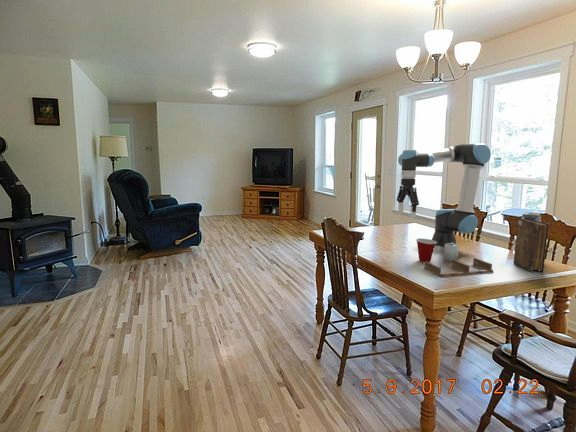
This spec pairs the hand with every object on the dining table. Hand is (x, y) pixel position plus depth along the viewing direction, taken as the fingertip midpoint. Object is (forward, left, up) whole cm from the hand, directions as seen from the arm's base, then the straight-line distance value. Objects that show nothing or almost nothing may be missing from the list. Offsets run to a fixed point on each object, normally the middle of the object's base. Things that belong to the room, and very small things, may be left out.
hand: (406, 215), depth 212 cm
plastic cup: (-5, +12, -24) cm, 27 cm away
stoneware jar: (-20, +14, -24) cm, 34 cm away
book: (-50, +35, -24) cm, 66 cm away
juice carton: (-64, +21, -24) cm, 71 cm away
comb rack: (-12, +30, -24) cm, 40 cm away
